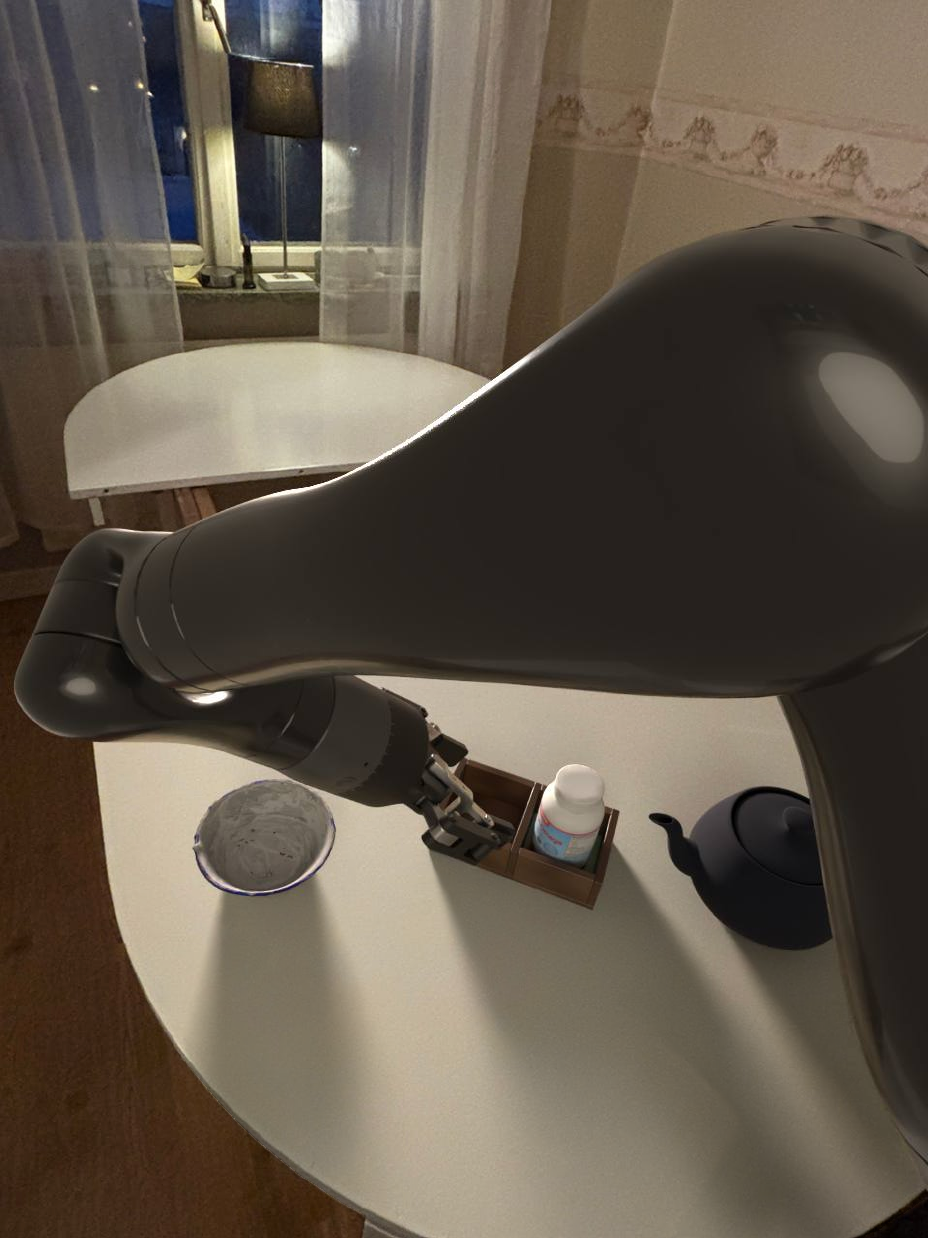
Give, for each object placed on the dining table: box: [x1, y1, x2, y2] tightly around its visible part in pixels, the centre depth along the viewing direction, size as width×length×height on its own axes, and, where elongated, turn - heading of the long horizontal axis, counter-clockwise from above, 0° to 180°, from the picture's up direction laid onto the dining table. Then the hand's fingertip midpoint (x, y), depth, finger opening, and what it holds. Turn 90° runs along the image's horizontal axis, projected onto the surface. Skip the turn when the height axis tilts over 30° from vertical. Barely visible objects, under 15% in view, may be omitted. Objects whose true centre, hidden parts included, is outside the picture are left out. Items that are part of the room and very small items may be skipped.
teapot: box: [648, 785, 833, 952], centre depth 71 cm, size 25×16×12 cm, turn 86°
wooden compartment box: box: [426, 757, 621, 911], centre depth 76 cm, size 17×9×5 cm, turn 70°
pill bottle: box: [530, 763, 606, 870], centre depth 72 cm, size 6×6×11 cm
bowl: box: [191, 778, 337, 899], centre depth 71 cm, size 13×13×5 cm
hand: (481, 794), depth 60 cm, fingers open, 8 cm apart
